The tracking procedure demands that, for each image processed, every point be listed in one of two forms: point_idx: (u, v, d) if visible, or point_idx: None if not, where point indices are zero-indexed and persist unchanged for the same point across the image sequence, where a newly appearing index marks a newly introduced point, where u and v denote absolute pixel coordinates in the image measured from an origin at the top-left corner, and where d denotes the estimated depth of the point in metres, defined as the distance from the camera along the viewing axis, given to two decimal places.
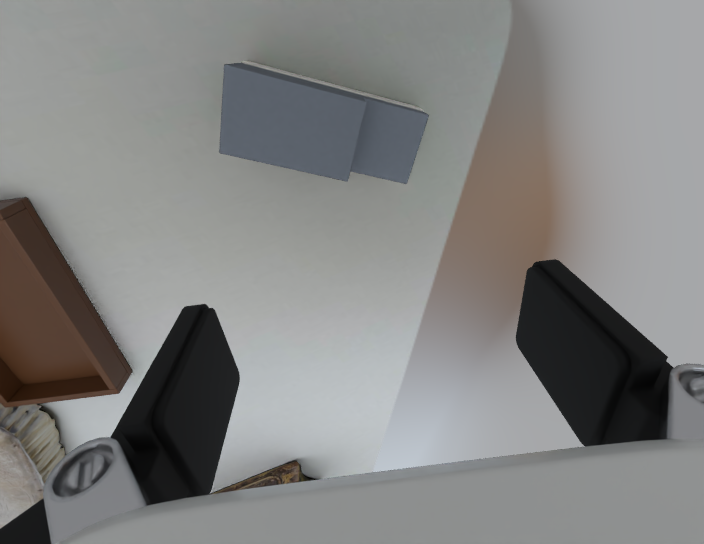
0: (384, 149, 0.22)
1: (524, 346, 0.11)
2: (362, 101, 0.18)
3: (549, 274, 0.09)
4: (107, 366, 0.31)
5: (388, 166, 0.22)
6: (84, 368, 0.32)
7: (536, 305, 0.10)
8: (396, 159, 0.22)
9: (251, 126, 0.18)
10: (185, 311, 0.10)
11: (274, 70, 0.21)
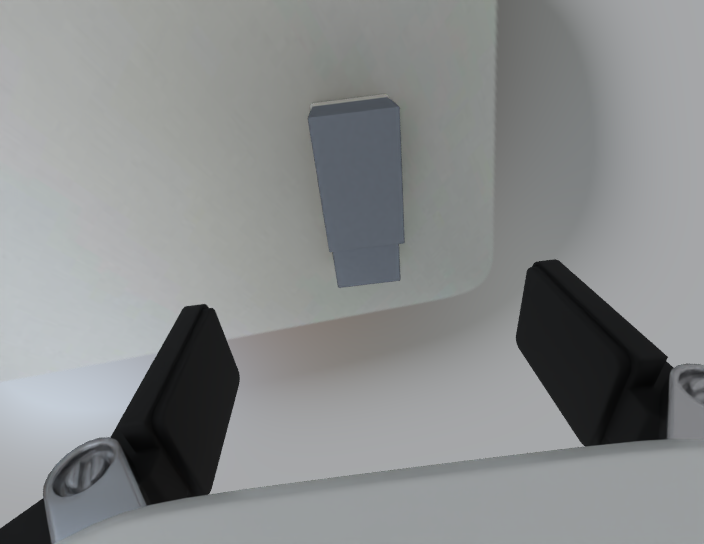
0: (361, 259, 0.23)
1: (524, 346, 0.11)
2: (403, 239, 0.20)
3: (549, 274, 0.09)
4: None
5: (347, 268, 0.23)
6: None
7: (536, 305, 0.10)
8: (356, 271, 0.23)
9: (349, 147, 0.17)
10: (185, 311, 0.10)
11: None
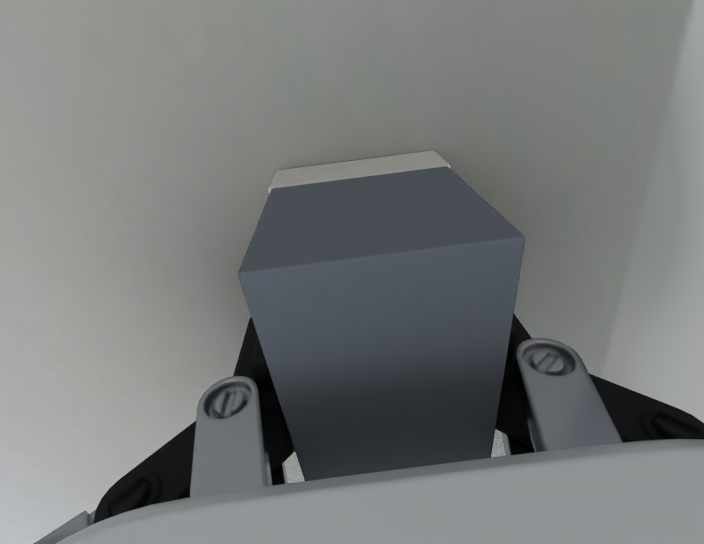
0: None
1: None
2: None
3: None
4: None
5: None
6: None
7: None
8: None
9: (365, 337, 0.06)
10: None
11: None
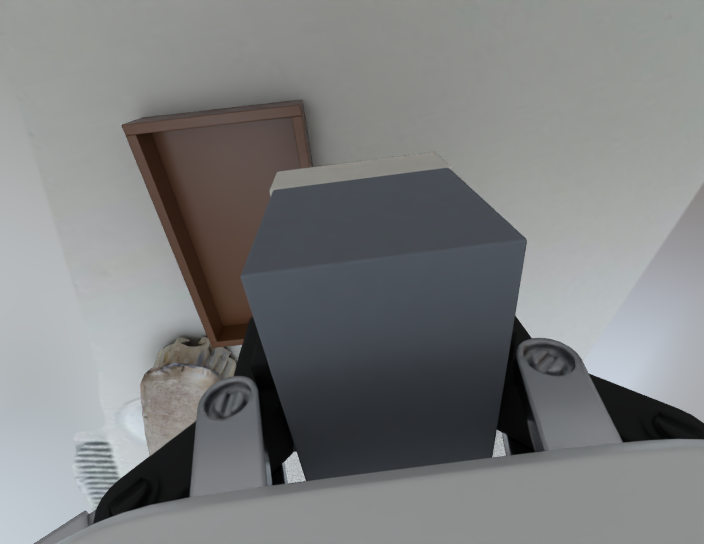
0: None
1: None
2: None
3: None
4: None
5: None
6: None
7: None
8: None
9: (367, 339, 0.06)
10: None
11: None
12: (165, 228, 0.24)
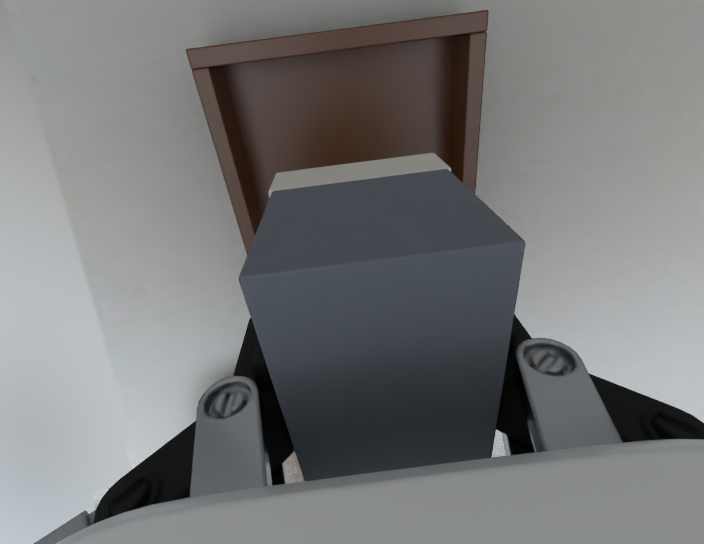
0: None
1: None
2: None
3: None
4: None
5: None
6: None
7: None
8: None
9: (365, 340, 0.06)
10: None
11: None
12: (241, 225, 0.15)
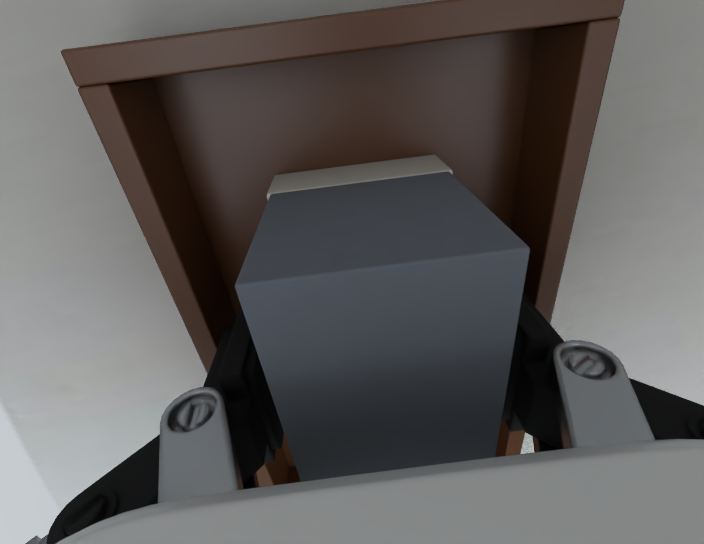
0: None
1: None
2: None
3: None
4: None
5: None
6: None
7: None
8: None
9: (365, 348, 0.06)
10: None
11: None
12: (191, 328, 0.10)
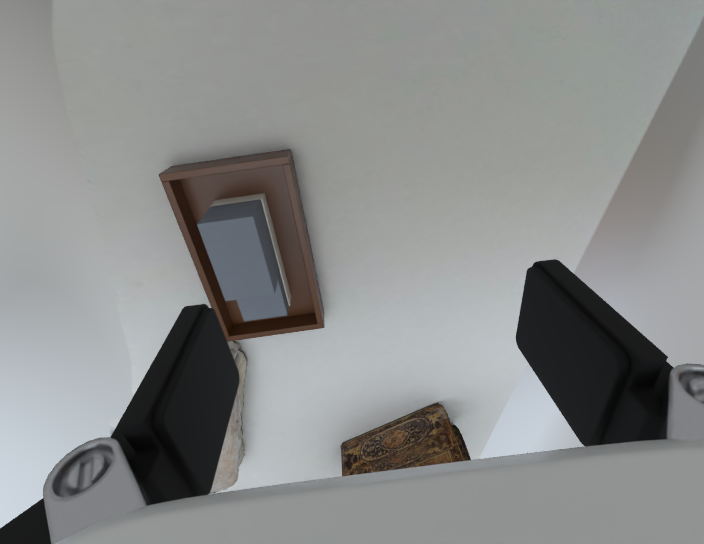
0: (256, 302, 0.33)
1: (524, 346, 0.11)
2: (274, 292, 0.30)
3: (549, 274, 0.09)
4: (319, 302, 0.36)
5: (248, 308, 0.33)
6: (289, 308, 0.37)
7: (536, 305, 0.10)
8: (254, 310, 0.33)
9: (225, 239, 0.27)
10: (185, 311, 0.10)
11: (267, 219, 0.31)
12: (189, 248, 0.31)
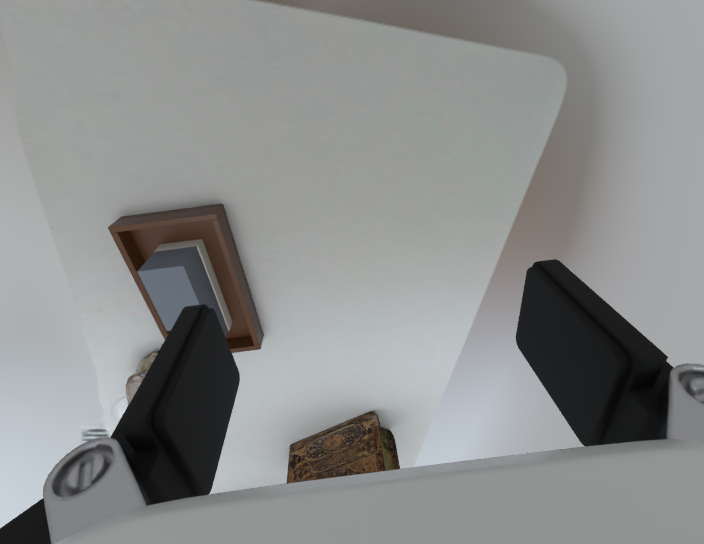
0: None
1: (524, 346, 0.11)
2: None
3: (549, 274, 0.09)
4: (255, 328, 0.41)
5: None
6: (231, 331, 0.43)
7: (536, 305, 0.10)
8: None
9: (162, 283, 0.33)
10: (185, 311, 0.10)
11: (203, 261, 0.36)
12: (138, 284, 0.37)
